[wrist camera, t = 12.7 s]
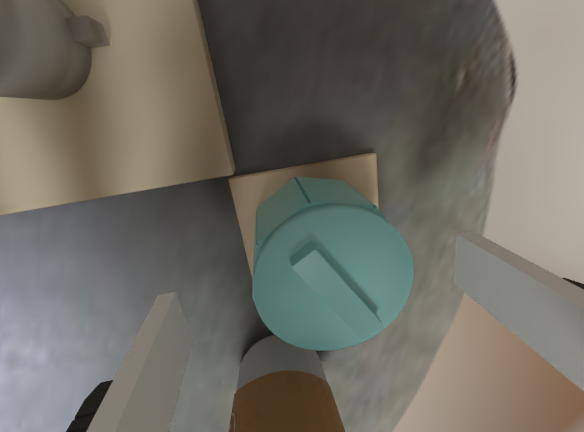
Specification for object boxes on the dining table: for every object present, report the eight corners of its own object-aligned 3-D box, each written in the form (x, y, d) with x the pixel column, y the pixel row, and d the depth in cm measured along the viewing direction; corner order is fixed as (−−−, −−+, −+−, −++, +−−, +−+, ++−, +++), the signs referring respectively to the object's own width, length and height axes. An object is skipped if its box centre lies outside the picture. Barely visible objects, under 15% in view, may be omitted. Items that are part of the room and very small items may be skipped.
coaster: (258, 298, 20) (258, 303, 20) (229, 177, 17) (228, 179, 16) (378, 274, 21) (381, 278, 20) (372, 152, 17) (376, 153, 17)
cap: (230, 229, 17) (214, 296, 11) (323, 152, 16) (363, 177, 10) (302, 301, 20) (323, 388, 14) (387, 237, 19) (452, 300, 13)
